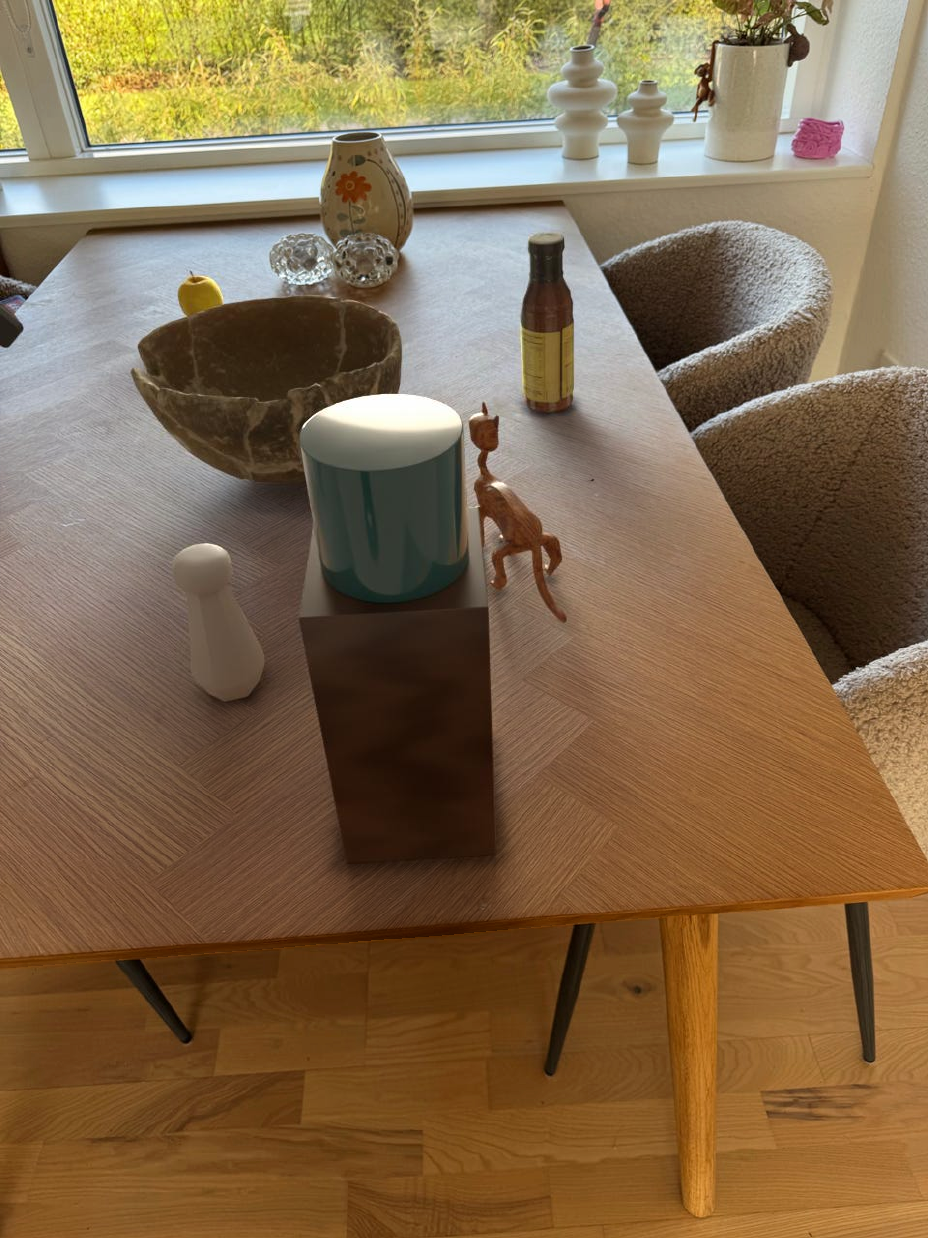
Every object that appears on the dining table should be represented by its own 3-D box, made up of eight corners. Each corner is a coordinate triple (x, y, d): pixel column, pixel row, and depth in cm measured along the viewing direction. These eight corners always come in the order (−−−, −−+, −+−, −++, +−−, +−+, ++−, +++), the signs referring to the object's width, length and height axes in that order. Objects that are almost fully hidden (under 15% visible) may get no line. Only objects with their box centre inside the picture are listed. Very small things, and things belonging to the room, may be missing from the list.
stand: (346, 863, 61) (298, 618, 48) (354, 752, 69) (314, 515, 56) (496, 855, 61) (488, 607, 48) (487, 745, 69) (478, 505, 56)
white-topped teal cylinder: (472, 598, 49) (466, 465, 44) (314, 608, 49) (290, 475, 44) (464, 491, 57) (458, 369, 52) (329, 498, 57) (310, 377, 52)
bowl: (149, 550, 92) (106, 412, 82) (174, 426, 112) (142, 305, 103) (425, 518, 94) (414, 380, 85) (400, 403, 115) (389, 282, 105)
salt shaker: (212, 658, 78) (176, 530, 70) (277, 662, 78) (248, 533, 69) (187, 706, 74) (145, 575, 66) (256, 711, 73) (222, 579, 65)
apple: (195, 317, 141) (183, 264, 136) (234, 319, 140) (224, 265, 135) (177, 334, 136) (164, 279, 131) (218, 335, 135) (206, 280, 130)
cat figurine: (598, 622, 80) (607, 484, 71) (530, 644, 78) (531, 505, 69) (507, 521, 93) (506, 395, 84) (447, 538, 91) (440, 410, 82)
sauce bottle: (558, 388, 116) (562, 223, 104) (582, 408, 112) (590, 238, 99) (511, 399, 115) (510, 233, 102) (534, 420, 110) (535, 248, 98)
